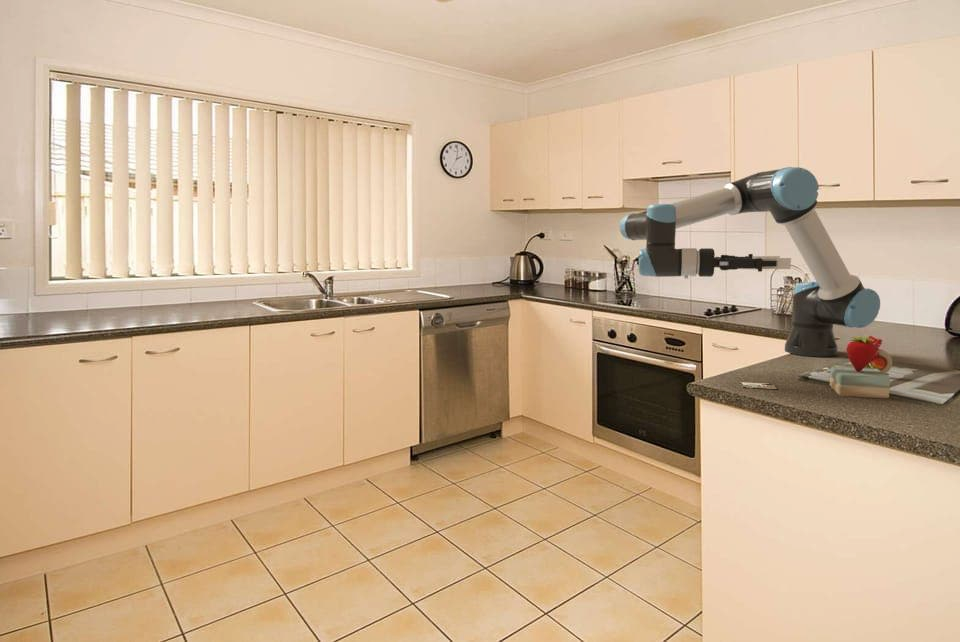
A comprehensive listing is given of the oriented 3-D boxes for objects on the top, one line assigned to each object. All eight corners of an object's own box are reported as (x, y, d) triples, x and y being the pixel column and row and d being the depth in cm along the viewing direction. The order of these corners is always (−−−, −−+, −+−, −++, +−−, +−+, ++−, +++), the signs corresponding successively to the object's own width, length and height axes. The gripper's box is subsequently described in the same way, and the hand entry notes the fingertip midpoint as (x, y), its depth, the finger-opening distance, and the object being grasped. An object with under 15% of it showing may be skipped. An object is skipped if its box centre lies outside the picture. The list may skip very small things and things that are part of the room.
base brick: (829, 385, 154) (831, 366, 154) (875, 388, 151) (876, 368, 151) (840, 395, 145) (841, 374, 144) (888, 398, 142) (890, 377, 141)
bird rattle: (877, 381, 167) (843, 366, 170) (899, 346, 164) (864, 331, 166) (881, 387, 161) (846, 371, 164) (905, 350, 158) (868, 334, 161)
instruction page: (740, 382, 158) (740, 382, 158) (774, 384, 156) (774, 383, 156) (743, 388, 153) (743, 387, 153) (778, 390, 150) (778, 389, 150)
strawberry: (879, 371, 147) (884, 331, 146) (864, 375, 143) (869, 333, 141) (853, 367, 152) (857, 327, 150) (838, 371, 148) (842, 330, 146)
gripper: (694, 273, 176) (774, 273, 170) (701, 279, 152) (794, 280, 147) (695, 247, 175) (775, 246, 169) (702, 249, 151) (796, 248, 146)
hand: (784, 262), depth 158 cm, fingers open, 13 cm apart
